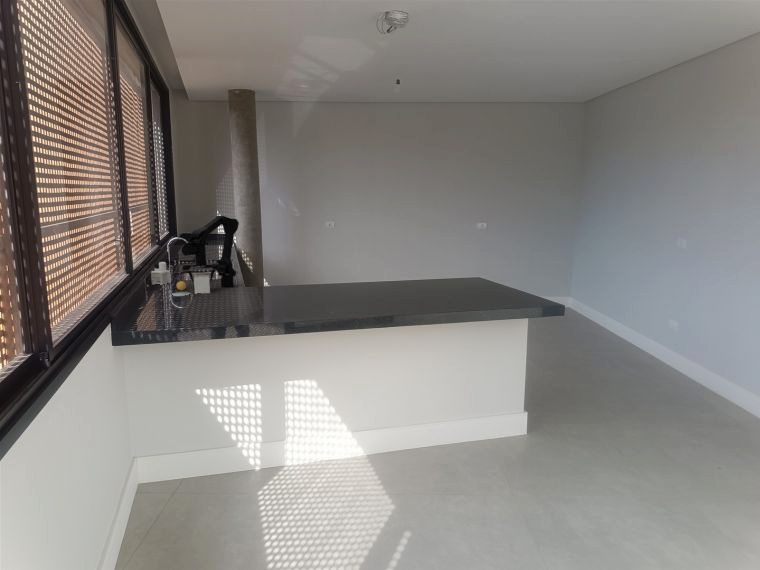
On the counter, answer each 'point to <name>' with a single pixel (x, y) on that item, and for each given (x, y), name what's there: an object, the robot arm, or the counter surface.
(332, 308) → the counter surface
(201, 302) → the counter surface
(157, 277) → the container
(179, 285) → the ball
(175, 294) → the disc
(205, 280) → the matte gray cube
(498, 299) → the counter surface
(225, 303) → the counter surface
